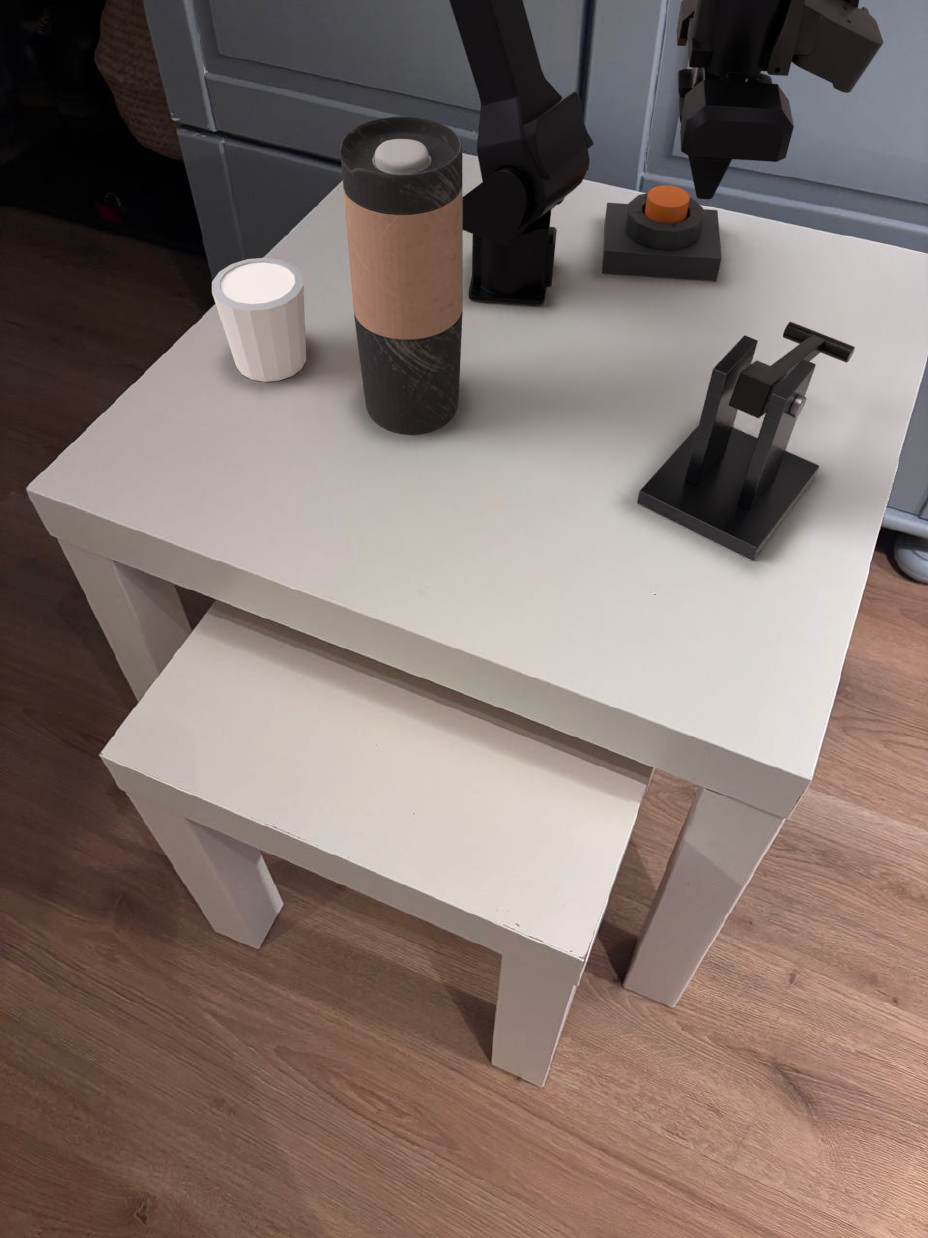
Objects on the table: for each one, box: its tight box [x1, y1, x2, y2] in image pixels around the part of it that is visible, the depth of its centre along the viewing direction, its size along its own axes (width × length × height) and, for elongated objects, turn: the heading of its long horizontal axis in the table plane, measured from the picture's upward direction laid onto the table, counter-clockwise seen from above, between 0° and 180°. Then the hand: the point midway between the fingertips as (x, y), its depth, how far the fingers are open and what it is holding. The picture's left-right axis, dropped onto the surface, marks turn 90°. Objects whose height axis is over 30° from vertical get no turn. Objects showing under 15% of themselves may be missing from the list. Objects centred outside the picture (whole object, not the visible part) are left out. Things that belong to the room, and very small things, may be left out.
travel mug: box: [339, 115, 464, 435], centre depth 67 cm, size 8×8×20 cm
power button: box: [645, 185, 691, 224], centre depth 85 cm, size 4×4×2 cm
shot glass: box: [211, 257, 307, 383], centre depth 76 cm, size 7×7×7 cm
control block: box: [601, 192, 723, 282], centre depth 87 cm, size 10×8×4 cm
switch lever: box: [729, 321, 856, 419], centre depth 67 cm, size 14×5×2 cm, turn 144°
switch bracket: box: [636, 334, 820, 561], centre depth 66 cm, size 10×9×11 cm
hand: (704, 196), depth 70 cm, fingers closed
